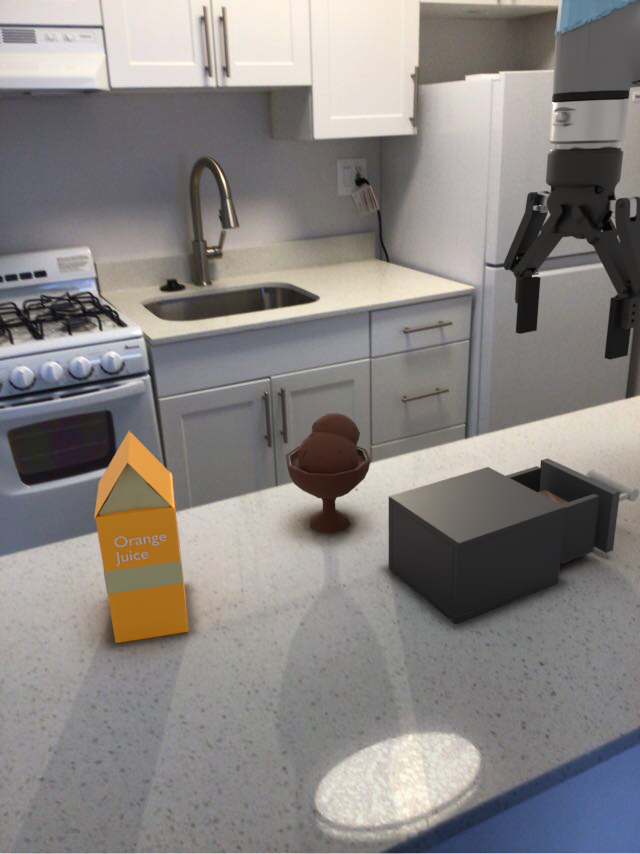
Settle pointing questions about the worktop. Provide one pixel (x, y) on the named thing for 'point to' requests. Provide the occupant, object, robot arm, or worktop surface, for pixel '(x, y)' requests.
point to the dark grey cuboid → (475, 541)
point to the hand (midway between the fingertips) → (568, 343)
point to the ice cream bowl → (329, 467)
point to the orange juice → (140, 545)
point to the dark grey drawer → (580, 504)
